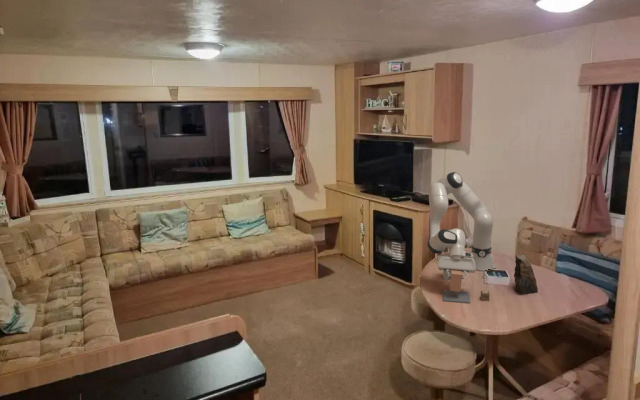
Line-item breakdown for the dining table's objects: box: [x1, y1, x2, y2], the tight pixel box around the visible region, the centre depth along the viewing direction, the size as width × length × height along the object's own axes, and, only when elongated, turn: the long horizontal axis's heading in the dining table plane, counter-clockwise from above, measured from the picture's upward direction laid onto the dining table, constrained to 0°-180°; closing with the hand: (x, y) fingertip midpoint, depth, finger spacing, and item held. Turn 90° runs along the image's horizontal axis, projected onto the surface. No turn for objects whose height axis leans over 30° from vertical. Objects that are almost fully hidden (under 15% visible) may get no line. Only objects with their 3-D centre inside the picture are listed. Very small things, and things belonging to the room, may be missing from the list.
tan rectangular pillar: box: [449, 270, 463, 292], centre depth 239 cm, size 5×5×10 cm
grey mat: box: [442, 289, 471, 304], centre depth 241 cm, size 14×14×1 cm
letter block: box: [480, 290, 490, 302], centre depth 237 cm, size 4×4×4 cm
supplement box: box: [442, 270, 451, 281], centre depth 267 cm, size 7×7×13 cm
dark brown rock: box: [513, 253, 539, 296], centre depth 246 cm, size 13×13×20 cm
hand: (456, 278), depth 239 cm, fingers closed on tan rectangular pillar, 5 cm apart
